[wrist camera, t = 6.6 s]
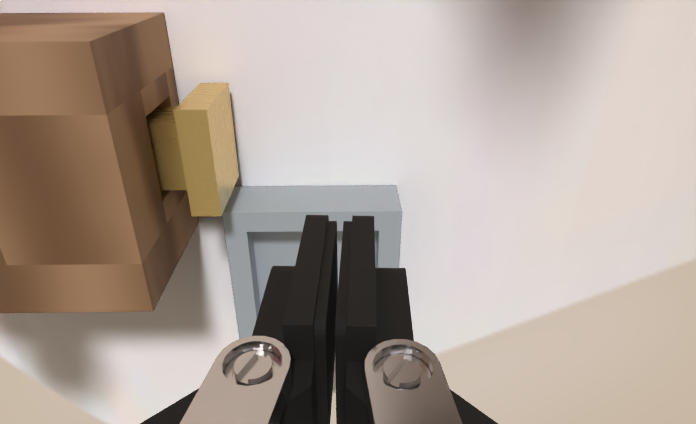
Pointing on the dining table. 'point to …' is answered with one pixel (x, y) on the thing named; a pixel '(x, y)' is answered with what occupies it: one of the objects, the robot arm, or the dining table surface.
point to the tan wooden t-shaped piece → (197, 148)
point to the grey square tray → (297, 232)
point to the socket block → (85, 164)
